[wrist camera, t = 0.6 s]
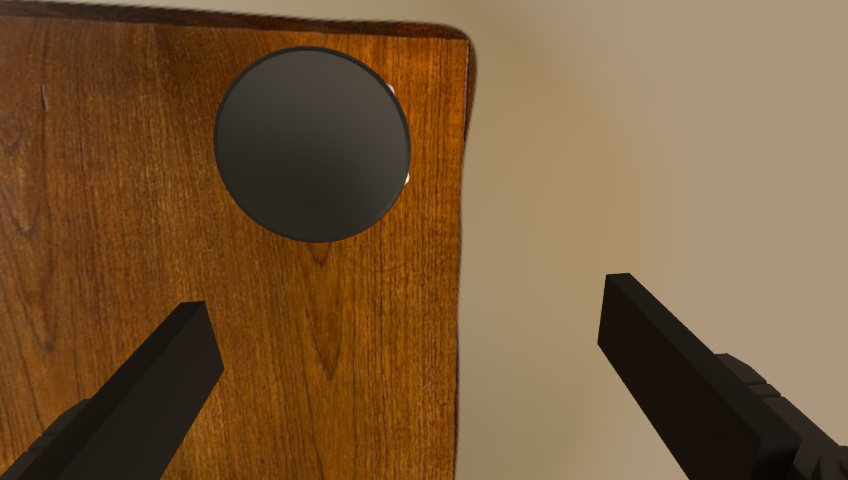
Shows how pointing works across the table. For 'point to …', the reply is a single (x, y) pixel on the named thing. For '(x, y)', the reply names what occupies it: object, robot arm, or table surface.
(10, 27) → the table surface
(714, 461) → the robot arm
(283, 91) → the jar
